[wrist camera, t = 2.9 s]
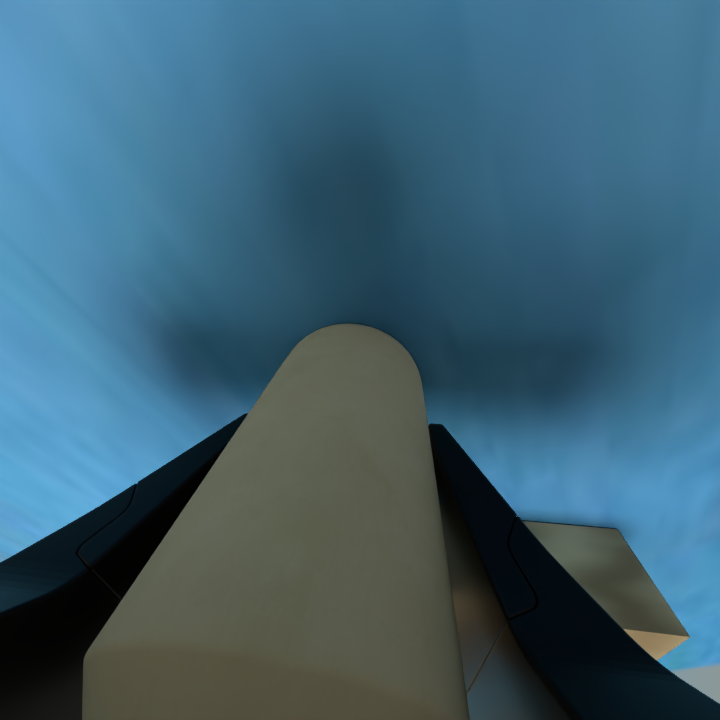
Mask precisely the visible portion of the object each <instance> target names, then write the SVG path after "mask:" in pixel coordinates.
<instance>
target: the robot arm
mask: <svg viewBox="0 0 720 720" xmlns="http://www.w3.org/2000/svg"><path fill="white" fill-rule="evenodd" d="M247 415H248V413H247V414H244V415H242V416H240V417H239V418H237V419H236V420H234V421H233V422H231V423H230V424H228V425H226V426H225V427H223V428H222V429H220V430H219V431H217V432H215V433H214V434H212V435H211V436H209V437H208V438H206V439H204V440H203V441H201V442H200V443H198V444H197V445H195V446H194V447H192V448H190V449H189V450H187V451H186V452H184V453H183V454H181V455H179V456H178V457H176V458H175V459H173V460H172V461H170V462H168V463H167V464H165V465H164V466H162V467H161V468H159V469H158V470H156V471H154V472H153V473H151V474H150V475H148V476H147V477H145V478H143V479H142V480H140V481H139V482H138V483H137V484H134V485H132V486H131V487H129V488H128V489H126V490H125V491H123V492H121V493H120V494H118V495H117V496H115V497H113V498H112V499H110V500H109V501H107V502H105V503H104V504H102V505H100V506H99V507H97V508H95V509H94V510H92V511H90V512H89V513H87V514H85V515H83V516H82V517H80V518H78V519H77V520H75V521H73V522H71V523H70V524H68V525H66V526H64V527H63V528H61V529H59V530H57V531H56V532H54V533H52V534H50V535H48V536H47V537H45V538H43V539H41V540H40V541H38V542H36V543H34V544H33V545H31V546H29V547H27V548H26V549H24V550H22V551H20V552H19V553H17V554H15V555H13V556H12V557H10V558H8V559H6V560H4V561H2V562H0V720H82V697H83V663H84V657H85V655H86V652H87V651H88V649H89V648H90V646H91V645H92V643H93V642H94V640H95V639H96V637H97V636H98V634H99V633H100V631H101V630H102V629H103V627H104V626H105V624H106V623H107V621H108V620H109V618H110V617H111V615H112V614H113V612H114V611H115V609H116V608H117V606H118V605H119V603H120V602H121V600H122V599H123V597H124V596H125V595H126V593H127V592H128V590H129V589H130V587H131V586H132V584H133V583H134V581H135V580H136V578H137V577H138V575H139V574H140V572H141V571H142V569H143V568H144V566H145V565H146V564H147V562H148V561H149V559H150V558H151V556H152V555H153V553H154V552H155V550H156V549H157V547H158V546H159V544H160V543H161V541H162V540H163V538H164V537H165V536H166V534H167V533H168V531H169V530H170V528H171V527H172V525H173V524H174V522H175V521H176V519H177V518H178V516H179V515H180V513H181V512H182V511H183V509H184V508H185V506H186V505H187V503H188V502H189V500H190V499H191V497H192V496H193V494H194V493H195V491H196V490H197V488H198V487H199V485H200V484H201V483H202V481H203V480H204V478H205V477H206V475H207V474H208V472H209V471H210V469H211V468H212V466H213V465H214V463H215V462H216V460H217V459H218V457H219V456H220V455H221V453H222V452H223V450H224V449H225V447H226V446H227V444H228V443H229V441H230V440H231V438H232V437H233V435H234V434H235V432H236V431H237V429H238V428H239V427H240V425H241V424H242V422H243V421H244V419H245V418H246V416H247ZM428 428H429V435H430V442H431V449H432V456H433V463H434V470H435V477H436V484H437V491H438V498H439V505H440V512H441V519H442V526H443V533H444V540H445V547H446V554H447V561H448V568H449V575H450V582H451V588H452V595H453V602H454V609H455V616H456V623H457V630H458V637H459V644H460V651H461V658H462V665H463V672H464V679H465V686H466V693H467V700H468V708H469V715H470V720H720V704H719V703H717V702H716V701H714V700H713V699H711V698H710V697H708V696H707V695H705V694H703V693H702V692H700V691H699V690H697V689H696V688H694V687H692V686H691V685H689V684H688V683H686V682H685V681H683V680H682V679H680V678H679V677H677V676H676V675H675V674H673V673H672V672H671V671H669V670H668V669H667V668H665V667H664V666H663V665H662V664H660V663H659V662H658V661H657V660H656V659H654V658H653V657H652V656H651V655H650V654H649V653H647V652H646V651H645V650H644V649H643V648H642V647H641V646H640V645H639V644H638V643H637V642H636V641H635V640H634V639H633V638H631V637H630V636H629V635H628V634H627V633H626V632H625V631H624V629H623V628H622V627H621V626H620V625H619V624H618V623H617V622H616V621H615V620H614V619H613V618H612V617H611V616H610V615H609V614H608V613H607V612H606V611H605V610H604V609H603V608H602V607H601V606H600V605H599V604H598V603H597V602H596V601H595V600H594V599H593V598H592V597H591V595H590V594H589V593H588V592H587V591H586V590H585V589H584V588H583V587H582V586H581V585H580V584H579V583H578V582H577V581H576V580H575V579H574V578H573V577H572V576H571V575H570V574H569V573H568V572H567V571H566V570H565V569H564V567H563V566H562V565H561V564H560V563H559V562H558V561H557V560H556V559H555V558H554V557H553V556H552V555H551V554H550V553H549V551H548V550H547V549H546V548H545V547H544V546H543V545H542V544H541V542H540V541H539V540H538V539H537V538H536V537H535V535H534V534H533V533H532V532H531V531H530V530H529V528H528V527H527V526H526V525H525V524H524V522H523V521H522V520H521V519H520V518H519V517H518V516H517V517H516V513H515V512H514V510H513V509H512V508H511V507H510V506H509V504H508V503H507V502H506V501H505V500H504V498H503V497H502V496H501V495H500V494H499V492H498V491H497V490H496V489H495V487H494V486H493V485H492V484H491V483H490V481H489V480H488V479H487V478H486V477H485V475H484V474H483V473H482V472H481V471H480V469H479V468H478V467H477V466H476V465H475V463H474V462H473V461H472V460H471V458H470V457H469V456H468V455H467V454H466V452H465V451H464V450H463V449H462V448H461V446H460V445H459V444H458V443H457V442H456V440H455V439H454V438H453V437H452V436H451V434H450V433H449V432H448V431H447V429H446V428H445V427H444V426H443V425H442V424H429V425H428Z"/></svg>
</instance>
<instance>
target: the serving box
mask: <svg viewBox="0 0 720 720" xmlns="http://www.w3.org/2000/svg"><path fill="white" fill-rule="evenodd" d="M523 522H524V524H525V525H526V526H527V527H528V528H529V530H530V531H531V532H532V533H533V534H534V535H535V537H536V538H537V539H538V540H539V541H540V542H541V544H542V545H543V546H544V547H545V548H546V549H547V550H548V551H549V553H550V554H551V555H552V556H553V557H554V558H555V559H556V560H557V561H558V562H559V563H560V564H561V565H562V566H563V567H564V569H565V570H566V571H567V572H568V573H569V574H570V575H571V576H572V577H573V578H574V579H575V580H576V581H577V582H578V583H579V584H580V585H581V586H582V587H583V588H584V589H585V590H586V591H587V592H588V593H589V594H590V595H591V597H592V598H593V599H594V600H595V601H596V602H597V603H598V604H599V605H600V606H601V607H602V608H603V609H604V610H605V611H606V612H607V613H608V614H609V615H610V616H611V617H612V618H613V619H614V620H615V621H616V622H617V623H618V624H619V625H620V626H621V627H622V628H623V629H624V631H625V632H626V633H627V634H628V635H629V636H630V637H631V638H633V639H634V640H635V641H636V642H637V643H638V644H639V645H640V646H641V647H642V648H643V649H644V650H645V651H646V652H647V653H649V654H650V655H651V656H652V657H653V658H654V659H656V660H658V659H660V658H661V657H662V656H664V655H665V654H667V653H668V652H670V651H671V650H672V649H674V648H675V647H677V646H678V645H680V644H681V643H682V642H684V641H685V640H687V639H688V638H690V636H689V635H688V633H687V632H686V630H685V629H684V627H683V626H682V624H681V623H680V621H679V620H678V618H677V617H676V615H675V614H674V612H673V611H672V609H671V608H670V606H669V605H668V603H667V602H666V600H665V599H664V597H663V596H662V594H661V593H660V591H659V590H658V588H657V587H656V585H655V584H654V582H653V581H652V579H651V578H650V576H649V575H648V573H647V572H646V570H645V569H644V567H643V566H642V564H641V563H640V561H639V560H638V559H637V557H636V556H635V554H634V553H633V551H632V550H631V548H630V547H629V545H628V544H627V542H626V541H625V539H624V538H623V536H622V535H621V533H620V532H619V530H618V529H608V528H597V527H585V526H574V525H562V524H551V523H539V522H528V521H523Z"/></svg>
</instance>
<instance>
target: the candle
mask: <svg viewBox="0 0 720 720" xmlns="http://www.w3.org/2000/svg"><path fill="white" fill-rule="evenodd" d="M82 720H470V715H469V708H468V700H467V693H466V686H465V679H464V672H463V665H462V658H461V651H460V644H459V637H458V630H457V623H456V616H455V609H454V602H453V595H452V588H451V582H450V575H449V568H448V561H447V554H446V547H445V540H444V533H443V526H442V519H441V512H440V505H439V498H438V491H437V484H436V477H435V470H434V463H433V456H432V449H431V442H430V435H429V428H428V421H427V414H426V407H425V400H424V393H423V387H422V382H421V377H420V374H419V370H418V368H417V366H416V364H415V362H414V360H413V358H412V357H411V355H410V354H409V352H408V351H407V350H406V349H405V348H404V346H403V345H402V344H400V343H399V342H398V341H397V340H396V339H394V338H393V337H391V336H390V335H388V334H386V333H384V332H382V331H380V330H378V329H375V328H372V327H369V326H365V325H360V324H336V325H330V326H327V327H323V328H321V329H318V330H316V331H314V332H312V333H311V334H309V335H308V336H306V337H305V338H304V339H303V340H301V341H300V342H299V343H298V344H297V345H296V346H295V347H294V348H293V350H292V351H291V352H290V353H289V355H288V356H287V358H286V359H285V360H284V362H283V363H282V365H281V366H280V368H279V369H278V371H277V372H276V373H275V375H274V376H273V378H272V379H271V381H270V382H269V384H268V385H267V387H266V388H265V390H264V391H263V393H262V394H261V396H260V397H259V399H258V400H257V401H256V403H255V404H254V406H253V407H252V409H251V410H250V412H249V413H248V415H247V416H246V418H245V419H244V421H243V422H242V424H241V425H240V427H239V428H238V429H237V431H236V432H235V434H234V435H233V437H232V438H231V440H230V441H229V443H228V444H227V446H226V447H225V449H224V450H223V452H222V453H221V455H220V456H219V457H218V459H217V460H216V462H215V463H214V465H213V466H212V468H211V469H210V471H209V472H208V474H207V475H206V477H205V478H204V480H203V481H202V483H201V484H200V485H199V487H198V488H197V490H196V491H195V493H194V494H193V496H192V497H191V499H190V500H189V502H188V503H187V505H186V506H185V508H184V509H183V511H182V512H181V513H180V515H179V516H178V518H177V519H176V521H175V522H174V524H173V525H172V527H171V528H170V530H169V531H168V533H167V534H166V536H165V537H164V538H163V540H162V541H161V543H160V544H159V546H158V547H157V549H156V550H155V552H154V553H153V555H152V556H151V558H150V559H149V561H148V562H147V564H146V565H145V566H144V568H143V569H142V571H141V572H140V574H139V575H138V577H137V578H136V580H135V581H134V583H133V584H132V586H131V587H130V589H129V590H128V592H127V593H126V595H125V596H124V597H123V599H122V600H121V602H120V603H119V605H118V606H117V608H116V609H115V611H114V612H113V614H112V615H111V617H110V618H109V620H108V621H107V623H106V624H105V626H104V627H103V629H102V630H101V631H100V633H99V634H98V636H97V637H96V639H95V640H94V642H93V643H92V645H91V646H90V648H89V649H88V651H87V652H86V655H85V657H84V663H83V697H82Z"/></svg>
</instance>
